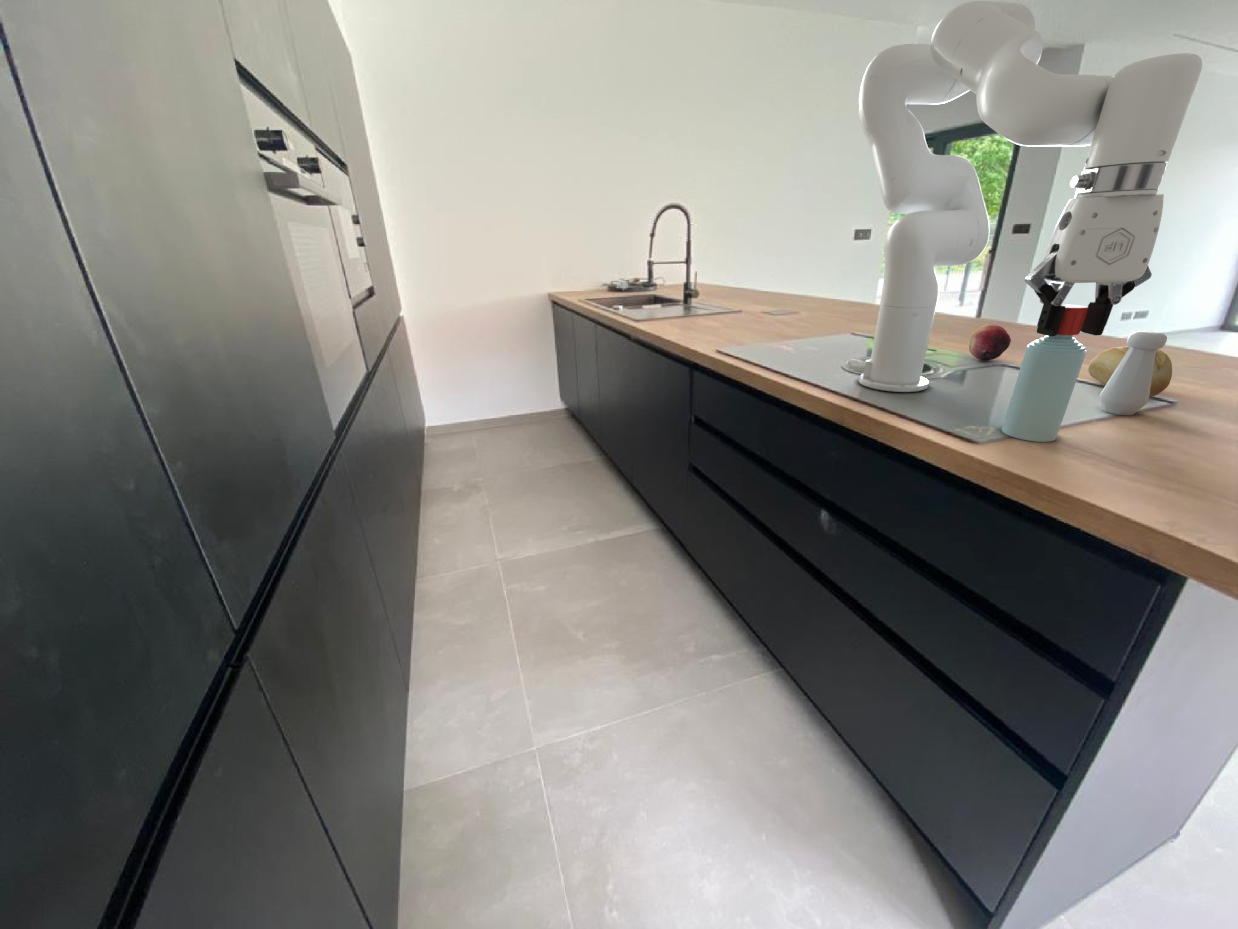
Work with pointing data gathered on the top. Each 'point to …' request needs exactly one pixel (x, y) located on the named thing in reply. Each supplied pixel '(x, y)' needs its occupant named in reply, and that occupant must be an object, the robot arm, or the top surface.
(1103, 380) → the potato
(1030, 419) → the bottle
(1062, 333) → the cap
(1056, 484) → the top surface
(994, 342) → the fruit
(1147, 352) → the salt shaker
